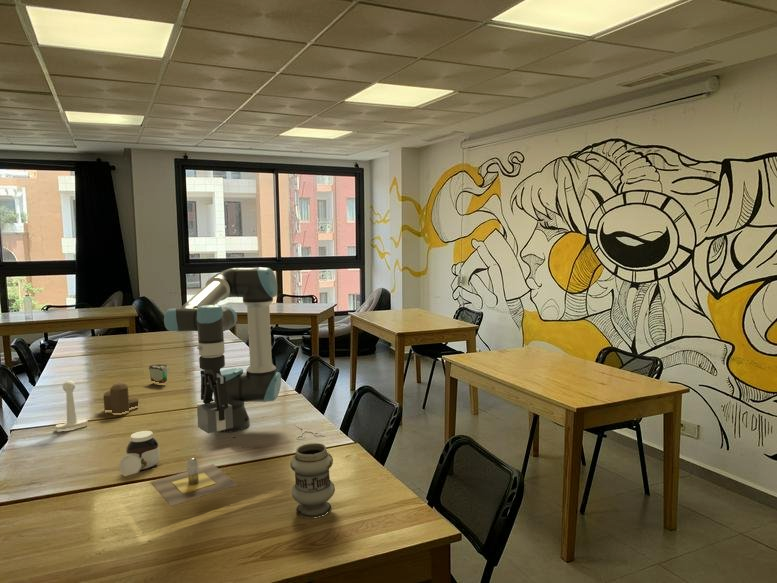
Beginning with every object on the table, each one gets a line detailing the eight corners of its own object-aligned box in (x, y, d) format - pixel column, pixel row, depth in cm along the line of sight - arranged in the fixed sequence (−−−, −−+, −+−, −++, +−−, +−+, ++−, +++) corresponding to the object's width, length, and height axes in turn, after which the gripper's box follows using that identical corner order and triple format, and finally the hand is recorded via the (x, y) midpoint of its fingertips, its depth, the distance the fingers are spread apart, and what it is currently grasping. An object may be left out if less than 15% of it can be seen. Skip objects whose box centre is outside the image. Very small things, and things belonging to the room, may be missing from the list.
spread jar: (160, 460, 189) (158, 428, 187) (159, 474, 178) (157, 439, 177) (122, 466, 184) (119, 433, 183) (118, 480, 174) (116, 445, 173)
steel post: (187, 483, 168) (185, 458, 167) (196, 480, 170) (195, 455, 169) (190, 486, 165) (189, 461, 165) (200, 483, 167) (198, 458, 166)
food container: (174, 384, 288) (173, 365, 287) (164, 386, 282) (163, 368, 281) (159, 381, 294) (158, 362, 293) (149, 383, 289) (148, 365, 288)
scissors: (299, 441, 204) (284, 424, 222) (299, 443, 204) (284, 426, 222) (325, 435, 208) (309, 420, 226) (325, 437, 209) (309, 421, 226)
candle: (137, 413, 240) (135, 380, 238) (103, 418, 235) (100, 384, 233) (138, 405, 253) (136, 373, 251) (106, 409, 247) (103, 376, 246)
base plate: (150, 486, 169) (150, 481, 169) (213, 468, 182) (212, 463, 181) (171, 511, 154) (170, 505, 153) (238, 489, 166) (237, 484, 166)
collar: (198, 427, 171) (197, 405, 170) (222, 421, 176) (221, 400, 176) (208, 433, 165) (207, 411, 164) (233, 427, 170) (232, 405, 170)
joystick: (57, 433, 217) (53, 384, 215) (55, 428, 223) (51, 380, 221) (88, 427, 224) (84, 379, 222) (85, 422, 230) (82, 376, 228)
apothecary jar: (283, 510, 153) (281, 448, 151) (317, 495, 162) (316, 436, 160) (309, 525, 145) (306, 460, 143) (344, 509, 153) (342, 447, 151)
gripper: (187, 352, 174) (190, 421, 176) (213, 362, 158) (217, 438, 160) (210, 348, 179) (213, 416, 181) (238, 358, 163) (241, 432, 165)
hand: (215, 426), depth 171 cm, fingers closed on collar, 8 cm apart
